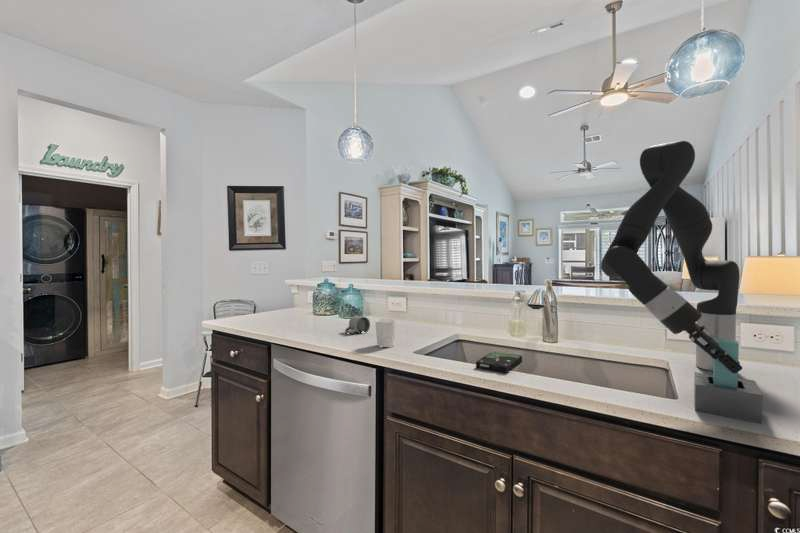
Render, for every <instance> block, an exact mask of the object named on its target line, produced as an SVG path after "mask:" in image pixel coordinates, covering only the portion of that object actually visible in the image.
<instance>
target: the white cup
mask: <svg viewBox="0 0 800 533" xmlns="http://www.w3.org/2000/svg"><path fill="white" fill-rule="evenodd" d="M396 322H397V321H396V320H395V319H392V318H380V319H376V320H375V336H376V346H377V345H378V346H382V347H389V348H391V347H390V346H393V347H394V346H395V339H396ZM378 346H377V347H378ZM382 347H381V348H382Z"/></svg>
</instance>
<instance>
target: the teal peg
mask: <svg viewBox="0 0 800 533" xmlns="http://www.w3.org/2000/svg"><path fill="white" fill-rule="evenodd" d="M716 340H717V341H718V342H719V343H720V345H719V346H720V347H721V348H722V349H723V350H724V351H726V352H727V353H728V355H729V356H730V357H732V358H733V359H734V360H735V361H736V362H737V363H738V361H739V354H740V353H739V349H740V348H739V347H740V346H739V345H740V344H739V343H740V342H739V341H738V340H737V339H736V340H728V339H718V338H717V339H716ZM717 351H719V350H718V349H716V348H714V353H715V352H717ZM712 372H713V373H712V374H713V383H714V384H716V385H722V386H729V387H735V388H738V378H739V372H737V373H732V372H731V371H730V370H729V369H728V368H727V367H725V366H724V365H723V364H722V363H721V362H720V361H719V360H715V359H713V371H712Z"/></svg>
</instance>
